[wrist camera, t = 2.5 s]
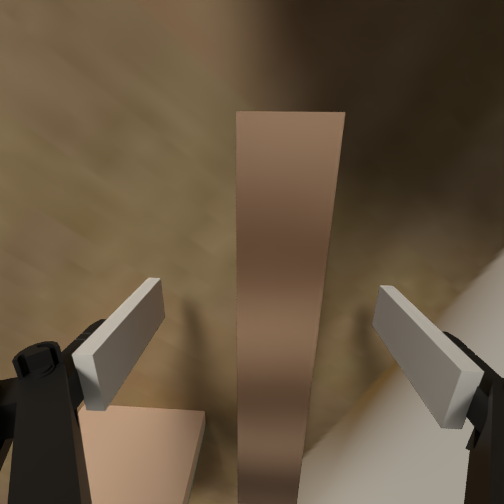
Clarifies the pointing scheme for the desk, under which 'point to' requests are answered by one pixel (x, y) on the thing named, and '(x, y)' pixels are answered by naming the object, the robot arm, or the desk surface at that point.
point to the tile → (141, 453)
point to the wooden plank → (280, 287)
